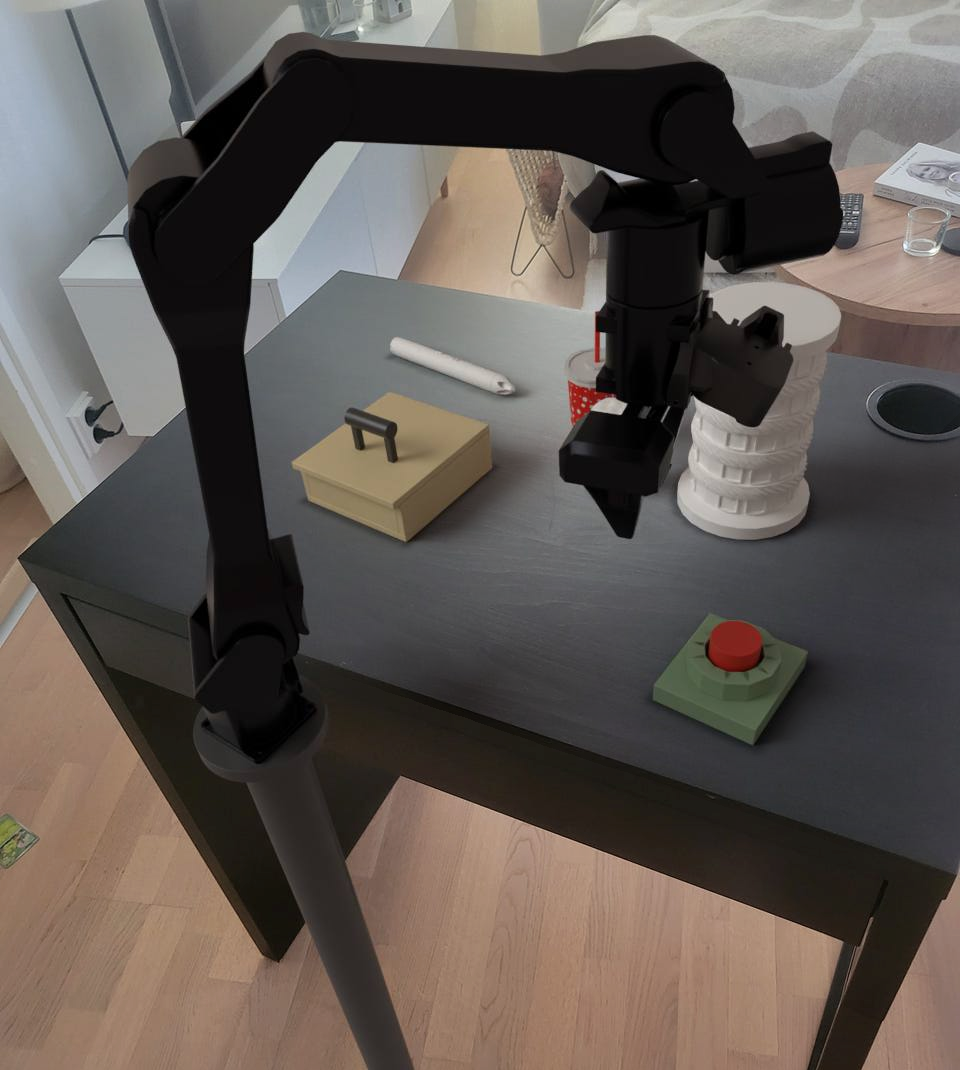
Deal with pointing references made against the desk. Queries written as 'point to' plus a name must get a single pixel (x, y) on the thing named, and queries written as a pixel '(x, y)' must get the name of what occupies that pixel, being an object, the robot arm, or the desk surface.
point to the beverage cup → (585, 378)
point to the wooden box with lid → (390, 448)
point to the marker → (452, 366)
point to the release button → (735, 646)
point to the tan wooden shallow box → (415, 507)
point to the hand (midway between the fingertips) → (644, 497)
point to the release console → (729, 684)
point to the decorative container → (761, 425)
